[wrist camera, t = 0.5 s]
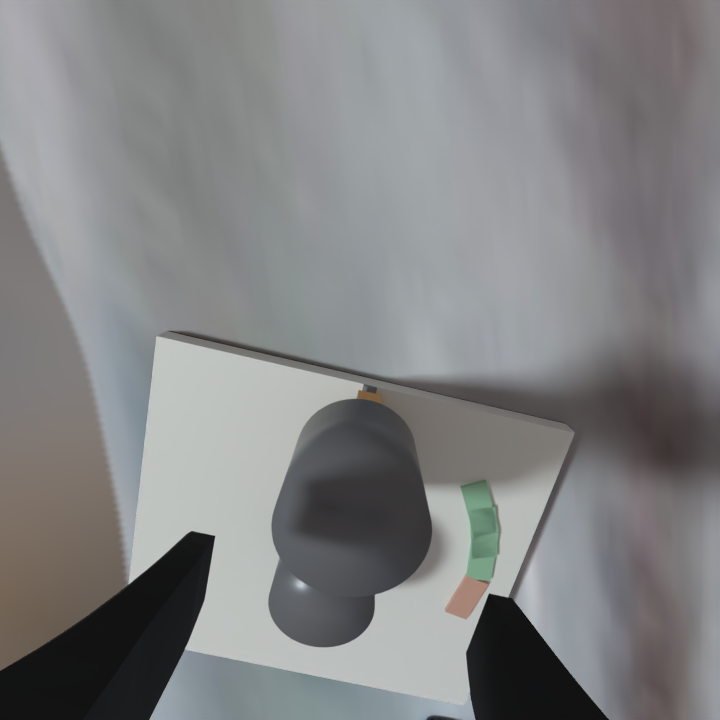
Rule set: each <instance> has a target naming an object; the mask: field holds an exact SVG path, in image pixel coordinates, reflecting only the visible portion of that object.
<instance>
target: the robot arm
mask: <svg viewBox="0 0 720 720" xmlns="http://www.w3.org/2000/svg"><path fill="white" fill-rule="evenodd" d="M214 541H215V536H213V535H209V534H204V533H199V532H194V531H191V532H189V533H187V534H186V535H185V536H184V537H183V538H182V539H181V540H180V541H179V542H177V543H176V544H175V545H174V546H173V547H172V548H171V549H170V550H169V551H168V552H167V553H165V554H164V555H163V556H162V557H161V558H160V559H159V560H157V561H156V562H155V563H154V564H153V565H152V566H151V567H149V568H148V569H147V570H146V571H145V572H143V573H142V574H141V575H140V576H138V577H137V578H136V579H135V580H134V581H132V582H131V583H130V584H129V585H127V586H126V587H125V588H124V589H123V590H121V591H120V592H119V593H117V594H116V595H115V596H113V597H112V598H111V599H109V600H108V601H107V602H105V603H104V604H103V605H101V606H100V607H99V608H97V609H96V610H95V611H93V612H92V613H90V614H89V615H88V616H86V617H85V618H83V619H82V620H81V621H79V622H78V623H76V624H75V625H73V626H72V627H71V628H69V629H67V630H66V631H64V632H63V633H61V634H60V635H58V636H57V637H55V638H54V639H52V640H51V641H49V642H47V643H46V644H44V645H43V646H41V647H40V648H38V649H36V650H35V651H33V652H31V653H30V654H28V655H27V656H25V657H23V658H21V659H20V660H18V661H16V662H14V663H13V664H11V665H9V666H8V667H6V668H4V669H3V670H1V671H0V720H149V719H150V717H151V715H152V713H153V711H154V709H155V707H156V705H157V703H158V701H159V699H160V697H161V695H162V693H163V691H164V689H165V687H166V685H167V683H168V681H169V679H170V678H171V676H172V674H173V672H174V670H175V668H176V666H177V664H178V662H179V660H180V658H181V656H182V654H183V652H184V650H185V648H186V646H187V644H188V642H189V639H190V636H191V634H192V631H193V629H194V626H195V624H196V621H197V619H198V616H199V613H200V611H201V608H202V606H203V603H204V600H205V595H206V589H207V583H208V577H209V571H210V565H211V559H212V553H213V547H214ZM466 660H467V669H468V679H469V687H470V695H471V701H472V706H473V710H474V715H475V719H476V720H609V719H608V718H607V717H606V716H605V715H604V713H603V712H602V711H601V710H600V709H599V708H598V706H597V705H596V704H595V703H594V702H593V701H592V699H591V698H590V697H589V696H588V695H587V693H586V692H585V691H584V690H583V689H582V687H581V686H580V685H579V684H578V683H577V681H576V680H575V679H574V678H573V676H572V675H571V674H570V673H569V671H568V670H567V669H566V668H565V666H564V665H563V664H562V663H561V661H560V660H559V659H558V657H557V656H556V655H555V654H554V652H553V651H552V650H551V648H550V647H549V646H548V644H547V643H546V642H545V641H544V639H543V638H542V637H541V635H540V634H539V633H538V631H537V630H536V629H535V627H534V626H533V625H532V624H531V622H530V621H529V620H528V618H527V617H526V616H525V614H524V613H523V612H522V611H521V609H520V608H519V607H518V605H517V604H516V603H515V602H514V601H513V599H512V598H509V597H504V596H499V595H494V594H490V593H489V595H488V597H487V600H486V602H485V605H484V607H483V610H482V613H481V615H480V618H479V620H478V623H477V626H476V628H475V631H474V633H473V636H472V639H471V641H470V644H469V646H468V649H467V652H466Z"/></svg>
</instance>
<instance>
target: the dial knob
mask: <svg viewBox="0 0 720 720" xmlns="http://www.w3.org/2000/svg"><path fill="white" fill-rule="evenodd" d="M271 529H272V538H273V543H274V546H275V549H276V551H277V553H278V555H279V560H278V564H277V568H276V571H275V575H274V578H273V582H272V586H271V589H270V593H269V598H268V607H269V612H270V615H271V617H272V619H273V621H274V623H275V624H276V626H277V627H278V628H279V629H280V630H281V631H282V632H283V633H284V634H285V635H286V636H288V637H289V638H291V639H293V640H295V641H297V642H299V643H302V644H304V645H308V646H313V647H335V646H340V645H343V644H346V643H348V642H351V641H352V640H354V639H356V638H357V637H359V636H360V635H361V634H362V633H363V632H364V631H365V630H366V629H367V628H368V626H369V625H370V623H371V621H372V619H373V616H374V611H375V595H376V594H379V593H383V592H385V591H388V590H390V589H392V588H394V587H396V586H398V585H400V584H401V583H403V582H404V581H405V580H407V579H408V578H409V577H410V576H411V575H412V574H413V573H415V571H416V570H417V569H418V568H419V567H420V565H421V564H422V562H423V560H424V559H425V557H426V555H427V552H428V550H429V547H430V543H431V538H432V521H431V516H430V512H429V507H428V502H427V498H426V493H425V488H424V483H423V479H422V474H421V469H420V465H419V460H418V455H417V451H416V446H415V441H414V438H413V435H412V433H411V431H410V429H409V427H408V425H407V424H406V423H405V421H404V420H403V419H402V418H401V417H400V416H399V415H398V414H397V413H395V412H394V411H393V410H392V409H390V408H388V407H387V406H385V405H382V401H381V395H379V394H375V393H371V392H366V391H362V390H358V393H357V397H356V399H345V400H341V401H337V402H334V403H331V404H329V405H327V406H325V407H323V408H321V409H320V410H318V411H317V412H316V413H315V414H314V415H313V416H311V418H310V419H309V420H308V421H307V422H306V424H305V425H304V427H303V429H302V431H301V433H300V435H299V438H298V441H297V444H296V447H295V450H294V453H293V456H292V458H291V461H290V464H289V467H288V470H287V473H286V476H285V479H284V482H283V485H282V487H281V490H280V493H279V496H278V499H277V502H276V505H275V508H274V512H273V515H272V523H271Z"/></svg>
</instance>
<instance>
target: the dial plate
mask: <svg viewBox="0 0 720 720" xmlns="http://www.w3.org/2000/svg"><path fill="white" fill-rule="evenodd" d="M358 390H362V391H366V392H371V393H375V394H379V395H381V401H382V405H385V406H387V407H388V408H390V409H392V410H393V411H394V412H395V413H397V414H398V415H399V416H400V417H401V418H402V419H403V420H404V421H405V423H406V424H407V425H408V427H409V429H410V431H411V433H412V435H413V438H414V441H415V446H416V451H417V455H418V460H419V465H420V469H421V474H422V479H423V483H424V488H425V493H426V498H427V502H428V507H429V512H430V516H431V521H432V538H431V543H430V547H429V550H428V552H427V555H426V557H425V559H424V560H423V562H422V564H421V565H420V567H419V568H418V569H417V570H416V571H415V573H413V574H412V575H411V576H410V577H409V578H408V579H407V580H405V581H404V582H403V583H401V584H400V585H398V586H396V587H394V588H392V589H390V590H388V591H385V592H383V593H379V594H376V595H375V611H374V616H373V619H372V621H371V623H370V625H369V626H368V628H367V629H366V630H365V631H364V632H363V633H362V634H361V635H360V636H359V637H357V638H356V639H354V640H352V641H351V642H348V643H346V644H343V645H340V646H335V647H313V646H308V645H304V644H302V643H299V642H297V641H295V640H293V639H291V638H289V637H288V636H286V635H285V634H284V633H283V632H282V631H281V630H280V629H279V628H278V627H277V626H276V624H275V623H274V621H273V619H272V617H271V615H270V612H269V607H268V598H269V593H270V589H271V586H272V582H273V578H274V575H275V571H276V568H277V564H278V560H279V555H278V553H277V551H276V549H275V546H274V543H273V538H272V529H271V523H272V515H273V512H274V508H275V505H276V502H277V499H278V496H279V493H280V490H281V487H282V485H283V482H284V479H285V476H286V473H287V470H288V467H289V464H290V461H291V458H292V456H293V453H294V450H295V447H296V444H297V441H298V438H299V435H300V433H301V431H302V429H303V427H304V425H305V424H306V422H307V421H308V420H309V419H310V418H311V416H313V415H314V414H315V413H316V412H317V411H318V410H320V409H321V408H323V407H325V406H327V405H329V404H331V403H334V402H337V401H341V400H345V399H356V397H357V393H358ZM574 435H575V432H574V431H573V430H572V429H571V428H570V427H569V426H568V425H567V424H564V423H560V422H556V421H551V420H547V419H543V418H539V417H534V416H530V415H526V414H521V413H517V412H513V411H508V410H504V409H500V408H496V407H491V406H487V405H483V404H478V403H474V402H470V401H465V400H461V399H457V398H452V397H448V396H444V395H440V394H435V393H431V392H427V391H422V390H418V389H414V388H409V387H405V386H401V385H397V384H392V383H388V382H384V381H379V380H375V379H371V378H366V377H362V376H358V375H354V374H349V373H345V372H341V371H336V370H332V369H328V368H323V367H319V366H315V365H310V364H306V363H302V362H298V361H293V360H289V359H285V358H280V357H276V356H272V355H267V354H263V353H259V352H255V351H250V350H246V349H242V348H237V347H233V346H229V345H224V344H220V343H216V342H212V341H207V340H203V339H199V338H194V337H190V336H186V335H181V334H177V333H173V332H168V331H166V332H164V333H162V334H160V335H158V336H157V337H156V346H155V355H154V364H153V373H152V381H151V390H150V399H149V408H148V417H147V426H146V435H145V444H144V452H143V461H142V470H141V479H140V488H139V497H138V506H137V514H136V523H135V532H134V541H133V550H132V559H131V568H130V577H129V584H130V583H131V582H132V581H134V580H135V579H136V578H137V577H138V576H140V575H141V574H142V573H143V572H145V571H146V570H147V569H148V568H149V567H151V566H152V565H153V564H154V563H155V562H156V561H157V560H159V559H160V558H161V557H162V556H163V555H164V554H165V553H167V552H168V551H169V550H170V549H171V548H172V547H173V546H174V545H175V544H176V543H177V542H179V541H180V540H181V539H182V538H183V537H184V536H185V535H186V534H187V533H189V532H191V531H194V532H199V533H204V534H209V535H213V536H215V541H214V547H213V553H212V559H211V565H210V571H209V577H208V583H207V589H206V595H205V600H204V603H203V606H202V608H201V611H200V613H199V616H198V619H197V621H196V624H195V626H194V629H193V631H192V634H191V636H190V639H189V642H188V644H187V646H186V648H185V650H190V651H195V652H200V653H205V654H210V655H215V656H220V657H225V658H229V659H234V660H239V661H244V662H249V663H254V664H259V665H264V666H269V667H274V668H279V669H284V670H289V671H294V672H299V673H304V674H309V675H314V676H319V677H324V678H329V679H334V680H339V681H344V682H349V683H354V684H359V685H364V686H369V687H374V688H379V689H384V690H389V691H394V692H398V693H403V694H408V695H413V696H418V697H423V698H428V699H433V700H438V701H443V702H448V703H453V704H458V705H463V706H464V705H465V702H466V700H467V697H468V695H469V692H470V687H469V679H468V669H467V660H466V652H467V649H468V646H469V644H470V641H471V639H472V636H473V633H474V631H475V628H476V626H477V623H478V620H479V618H480V615H481V613H482V610H483V607H484V605H485V602H486V600H487V597H488V595H489V593H490V594H494V595H499V596H504V597H509V594H510V592H511V589H512V587H513V584H514V582H515V580H516V577H517V575H518V572H519V570H520V567H521V565H522V562H523V560H524V557H525V555H526V553H527V550H528V548H529V545H530V543H531V540H532V538H533V535H534V533H535V530H536V528H537V525H538V523H539V521H540V518H541V516H542V513H543V511H544V508H545V506H546V503H547V501H548V498H549V496H550V494H551V491H552V489H553V486H554V484H555V481H556V479H557V476H558V474H559V471H560V469H561V467H562V464H563V462H564V459H565V457H566V454H567V452H568V449H569V447H570V444H571V442H572V440H573V437H574Z"/></svg>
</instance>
